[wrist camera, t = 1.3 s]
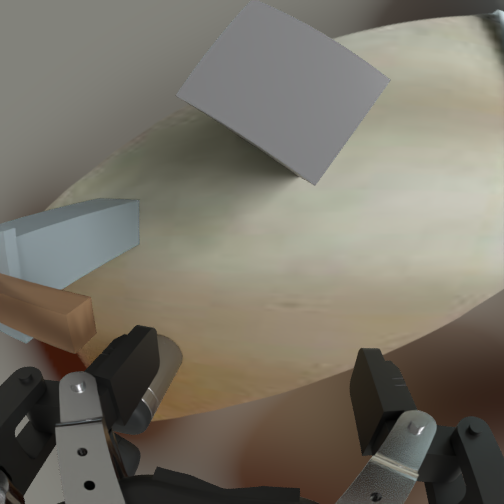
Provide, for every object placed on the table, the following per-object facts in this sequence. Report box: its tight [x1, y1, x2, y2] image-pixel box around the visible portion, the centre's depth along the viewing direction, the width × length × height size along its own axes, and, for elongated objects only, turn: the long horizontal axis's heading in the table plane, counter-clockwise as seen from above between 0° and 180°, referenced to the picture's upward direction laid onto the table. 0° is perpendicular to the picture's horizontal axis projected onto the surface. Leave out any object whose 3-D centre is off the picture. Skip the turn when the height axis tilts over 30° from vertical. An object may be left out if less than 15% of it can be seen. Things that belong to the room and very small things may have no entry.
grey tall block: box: [176, 0, 390, 185], centre depth 31 cm, size 12×10×27 cm
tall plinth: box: [0, 198, 139, 343], centre depth 36 cm, size 11×12×32 cm
